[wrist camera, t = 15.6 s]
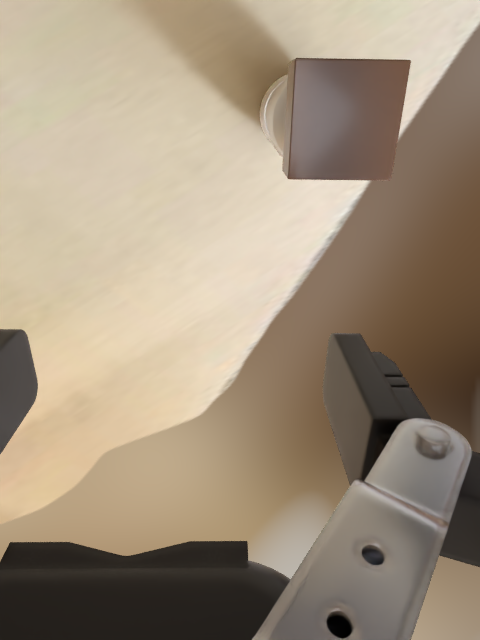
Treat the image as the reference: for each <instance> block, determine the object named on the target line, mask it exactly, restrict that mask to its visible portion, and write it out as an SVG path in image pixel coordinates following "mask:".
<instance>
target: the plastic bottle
mask: <svg viewBox="0 0 480 640" xmlns="http://www.w3.org/2000/svg"><path fill="white" fill-rule="evenodd" d="M287 80H288V74H287V75H284V76H283V77H281V78H279V79H278V80H276V81H275V82H274V83H273V84H272V85H271V86H270V87H269V89H268V90H267V92H266V93H265V95H264V97H263V100H262V103H261V107H260V123H261V127H262V130H263V132H264V134H265V136H266V137H267V139H268V140H269V141H270V142H271V143H272V144H273V145H274V147H275V149H276V150H277V152H278V153H279V154H280V155H281V156H282V157H283V152H284V134H285V116H286V98H287Z"/></svg>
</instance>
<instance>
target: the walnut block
mask: <svg viewBox="0 0 480 640" xmlns="http://www.w3.org/2000/svg"><path fill="white" fill-rule="evenodd" d="M410 63H411V61H410V60H383V59H323V58H296V59H294V60H293V61H291V62H290V63H289V64H288V80H287V98H286V116H285V134H284V152H283V172H284V173H285V175H286V176H287V178H288V179H312V180H391V177H392V171H393V165H394V159H395V153H396V147H397V141H398V135H399V129H400V123H401V117H402V111H403V105H404V99H405V93H406V87H407V81H408V75H409V69H410Z"/></svg>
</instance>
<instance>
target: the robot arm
mask: <svg viewBox="0 0 480 640" xmlns="http://www.w3.org/2000/svg"><path fill="white" fill-rule="evenodd" d="M37 389H38V383H37V377H36V372H35V368H34V363H33V359H32V354H31V350H30V345H29V340H28V337H27V334H26V333H25V332H24V331H23V330H13V329H0V454H1V453H2V451H3V450H4V448H5V446H6V445H7V443H8V442H9V440H10V439H11V437H12V436H13V434H14V433H15V431H16V430H17V428H18V427H19V425H20V424H21V422H22V421H23V419H24V417H25V416H26V414H27V413H28V411H29V410H30V408H31V407H32V405H33V404H34V402H35V399H36V396H37ZM323 400H324V405H325V408H326V411H327V415H328V418H329V421H330V424H331V427H332V430H333V433H334V436H335V440H336V443H337V446H338V449H339V452H340V455H341V458H342V462H343V465H344V468H345V471H346V474H347V477H348V480H349V483H350V487H349V489H348V490H347V492H346V493H345V495H344V497H343V498H342V500H341V502H340V503H339V505H338V506H337V508H336V509H335V511H334V512H333V514H332V516H331V517H330V519H329V520H328V522H327V523H326V525H325V527H324V528H323V530H322V531H321V533H320V534H319V536H318V538H317V539H316V541H315V542H314V544H313V546H312V547H311V549H310V550H309V552H308V553H307V555H306V557H305V558H304V560H303V561H302V563H301V564H300V566H299V568H298V569H297V571H296V572H295V574H294V576H293V577H292V578H291V579H289V578H288V577H286V576H285V575H283V574H281V573H279V572H277V571H276V570H274V569H272V568H269V567H267V566H264V565H262V564H259V563H255V562H252V561H248V546H247V541H209V542H208V541H200V542H199V541H196V542H195V541H193V542H192V541H191V542H186V543H182V544H177V545H173V546H169V547H165V548H161V549H157V550H153V551H149V552H144V553H140V554H136V555H131V556H122V555H117V554H113V553H109V552H105V551H102V550H98V549H94V548H90V547H86V546H82V545H78V544H74V543H70V542H14V543H13V542H10V544H9V546H8V548H7V550H6V552H5V553H4V555H3V557H2V559H1V562H0V640H411V637H412V635H413V632H414V629H415V626H416V623H417V620H418V617H419V613H420V610H421V608H422V605H423V602H424V599H425V596H426V593H427V590H428V587H429V584H430V581H431V578H432V575H433V572H434V569H435V566H436V562H437V560H438V557H439V555H440V556H443V557H447V558H450V559H454V560H457V561H460V562H464V563H467V564H471V565H475V566H478V567H480V453H477V452H473V451H472V450H471V447H470V445H469V443H468V442H467V440H466V439H465V438H464V437H463V436H462V435H461V434H460V433H459V432H457V431H456V430H454V429H453V428H451V427H449V426H447V425H445V424H443V423H440V422H437V421H434V420H432V419H431V418H430V416H429V415H428V413H427V412H426V410H425V409H424V407H423V406H422V404H421V402H420V401H419V399H418V398H417V396H416V395H415V393H414V392H413V390H412V388H409V384H408V382H407V381H406V379H405V378H404V377H403V375H402V373H401V371H400V370H399V368H398V367H397V366H396V364H395V363H394V362H393V361H392V360H390V359H389V358H388V357H386V356H385V355H384V354H382V353H381V352H371V351H370V349H369V348H368V346H367V344H366V343H365V341H364V339H363V337H362V336H361V334H346V333H340V334H339V333H333V334H331V335H330V338H329V342H328V350H327V357H326V365H325V372H324V380H323Z"/></svg>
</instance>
